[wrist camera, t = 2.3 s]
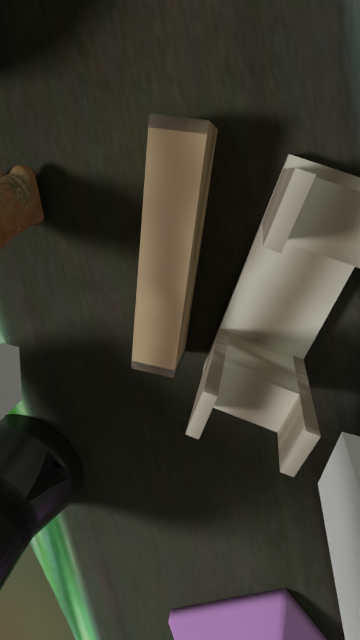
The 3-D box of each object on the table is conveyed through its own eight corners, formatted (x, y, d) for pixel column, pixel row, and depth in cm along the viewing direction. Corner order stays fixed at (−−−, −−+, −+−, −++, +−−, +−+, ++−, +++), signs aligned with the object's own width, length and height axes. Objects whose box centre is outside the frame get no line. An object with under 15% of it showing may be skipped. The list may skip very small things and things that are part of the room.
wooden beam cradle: (204, 363, 35) (181, 444, 25) (287, 154, 26) (305, 145, 16) (279, 392, 35) (287, 486, 24) (390, 188, 26) (476, 201, 15)
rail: (147, 343, 36) (131, 368, 31) (167, 122, 27) (149, 113, 23) (185, 351, 35) (174, 377, 31) (217, 128, 27) (209, 120, 22)
